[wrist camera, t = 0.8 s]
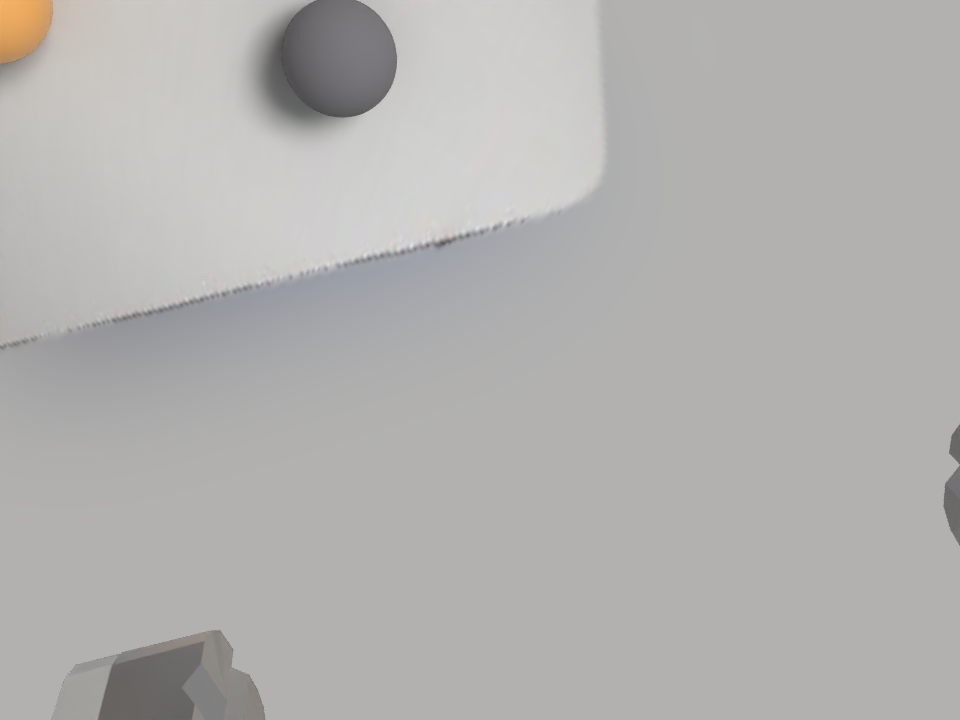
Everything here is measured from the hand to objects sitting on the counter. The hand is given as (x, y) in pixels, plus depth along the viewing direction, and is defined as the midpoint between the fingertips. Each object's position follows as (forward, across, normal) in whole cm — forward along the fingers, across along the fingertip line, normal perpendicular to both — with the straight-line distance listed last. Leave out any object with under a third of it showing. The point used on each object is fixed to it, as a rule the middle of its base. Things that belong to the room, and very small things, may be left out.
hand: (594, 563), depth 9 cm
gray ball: (+32, +3, +1) cm, 33 cm away
